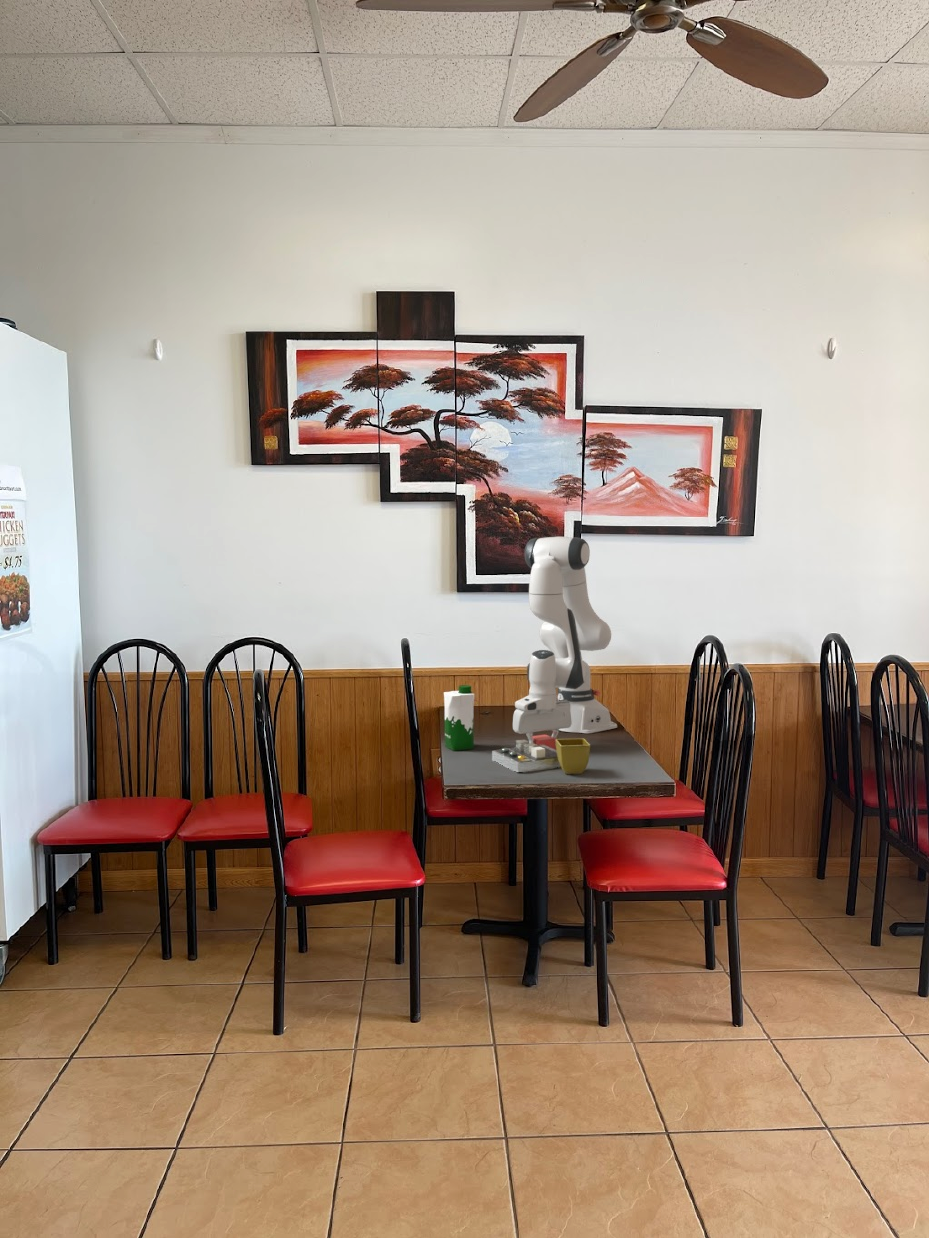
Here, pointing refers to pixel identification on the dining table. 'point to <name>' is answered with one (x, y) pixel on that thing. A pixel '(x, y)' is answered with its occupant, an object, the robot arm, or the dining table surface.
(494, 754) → the breaker panel
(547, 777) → the dining table surface
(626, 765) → the dining table surface
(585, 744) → the flower pot
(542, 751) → the breaker toggle
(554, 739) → the cap
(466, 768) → the dining table surface
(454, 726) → the milk carton
